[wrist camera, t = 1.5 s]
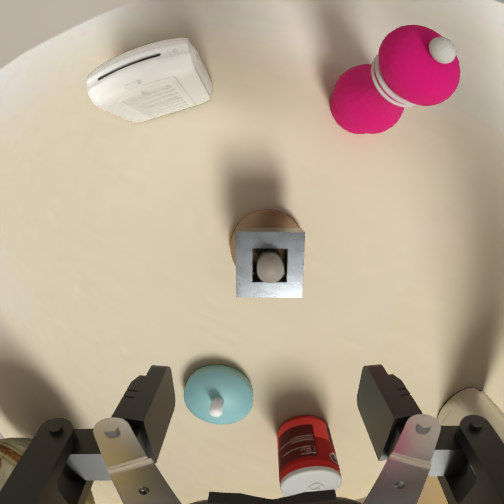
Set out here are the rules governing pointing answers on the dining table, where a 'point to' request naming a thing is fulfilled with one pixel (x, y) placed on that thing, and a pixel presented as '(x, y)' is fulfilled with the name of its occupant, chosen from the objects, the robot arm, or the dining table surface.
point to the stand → (265, 259)
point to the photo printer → (151, 81)
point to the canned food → (306, 456)
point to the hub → (218, 394)
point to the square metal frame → (275, 239)
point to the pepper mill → (396, 80)
